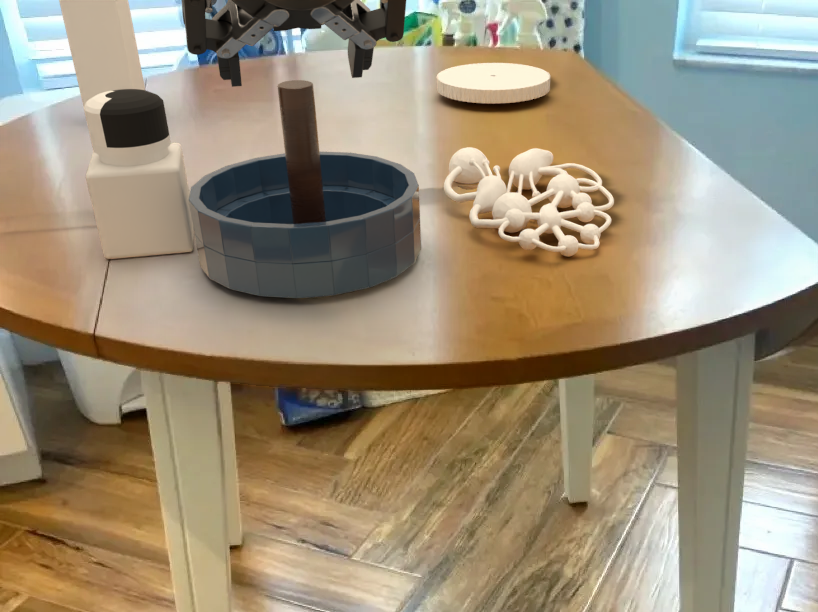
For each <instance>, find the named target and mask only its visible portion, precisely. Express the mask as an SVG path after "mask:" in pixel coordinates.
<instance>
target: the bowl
mask: <svg viewBox="0 0 818 612" xmlns="http://www.w3.org/2000/svg"><path fill="white" fill-rule="evenodd" d="M319 152H320V163H321V173H322V184H323V195H324V205H325V216H326V222H317V223H302V224H293V218H292V209H291V200H290V191H289V183H288V174H287V165H286V156H285V152H284V153H277V154H272V155H271V154H270V155H266V156H265V155H264V156H259V157H253V158H249V159H246V160H243V161H239V162H235V163H232V164H228V165H225V166H223V167H220V168H218V169H217V170H215V171H212V172H210V173H207V174H205V175H204V176H201V178H200V179H199V180H197V181H196V182H195V183H194V184H193V185H192V186H190V189H189V193H190V195H189V206H190V211H191V217H192V223H193V228H194V239H195V240H194V241H195V245H196V250H197V255H198V256H197V257H198V261H199V267H200V268H201V269H202V271H203V272H204V273H205V274H206V276H207V277H208V279H209V280H211V281H213V282H215V283H217V284H219V285H221V286H222V287H225V288H227V289H229V290H232V291H237V292H241V293H245V294H249V295H253V296H258V297H268V298H269V297H270V298H286V299H309V298H311V299H313V298H322V297H323V298H324V297H332V296H336V295H342V294H343V295H344V294H348V293H352V292H356V291H359V290H364V289H369V288H372V287H375V286H377V285H380V284H383V283H384V282H385V283H386V282H388V281H390V280H392V279H395V278H397V277H398V276H400V275H401V274H402V273H404V272H405V271H406V270H408V269H409V268H411V267H412V266H413V265H414V264H415V263H416V261H417V259H418V257H419V255H420V252H421V251H422V234H421V233H422V232H421V210H420V209H421V208H420V207H421V206H420V205H421V204H420V185H419V181H418V179H417V177H416V174H415V172H413V171H412V170H410V169H408V168H407V167H406V166H404V165H403V164H401V163H398V162H395V161H392V160H388V159H385V158H382V157H379V156H375V155H369V154H363V153H357V152H344V151H343V152H341V151H320V150H319Z"/></svg>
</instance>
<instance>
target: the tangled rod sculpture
mask: <svg viewBox="0 0 818 612" xmlns="http://www.w3.org/2000/svg"><path fill="white" fill-rule="evenodd" d="M553 163H554V154H553V153H552V152H551V151H550V150H547V149H542V148H537V147H534V148H530V149H528V150H526V151H524V152H521V153H519V154H517V155H516V156H515V157H513V159H512V160H511V161H510V163H509V166H508V176H509V179H508V182H507V185H506V183H505V182H504V180H503V179H502V176H501V174H500V172H501V167H500V165H498V164H496V165H494V166H493V168H492V170H493V172H494V173H495V175H494V174H493V172H492V170H491V168H490V160H489V159H488V158H487V156H486V155H485V154H484V153H483V151H481V150H480V149H479V148H475V147H473V146H468V147H461V148H460V149H458V150H456V152H454V154H452V156H451V158H450V160H449V163H448V175H447V176H446V177H445V179H444V181H443V191H444V193H445V195H446V196H447V197H448V198H449V199H450V200H452V201H454V202H456V203H460V204H461V203H465V202H471V201H473V204H472V207H471V209H470V210H469V216H468V217H469V221H470V223H471V226H472V227H473V228H477V229H498V232H497V233H498V235H499V238H500V239H502V240H503V241H505V242H510V243H518V244H519V246H520V247H521V249H523V250H526V251H531V250H535V249H536V248H540V249H543V250H545V251H547V252H552V253H560V254H561V255H562V256H564V257H569V258H570V257H572V256H575V255H576V254H577V253H578V251H579V249H580V250H585V251H592V250H593V251H594V250H597V249H598V248H599V247H600V243H601V242H600V238H601V236H602V235H601V233H603V232H604V231H605V230H607V229H608V228H609V227H610V225H611V224H612V218H611V215H609V214H608V213H606V212H605V211H608V210H610V209H611V208H613V206H614V204H615V198H614V197H613V195H612V193H611V192H610V191H609V190H607V188H605V187H604V186H603V180H602V178H601V176H600V175H599V174H598V173H597V172H596V171H594V170H593V169H591V168H589V167H588V166H585V165H583V164H578V163H574V162H572V163H571V162H569V163H568V162H567V163H563V164H556V165H552V164H553ZM567 169H574V170H579V171H581V172H584V173H586V174H588V175H590V176H591V177H592V178H593V179H594V180H592V179H589V178H585V177H578V178H575V177H574V176H572V175H571V174H569V173H568V172H567ZM543 176H554V177H552V178H551V179H550V181H549V182H548V184H547V187H546V191H544V192H542V193H541V192H540V191H539V190H538V189H537V187H536V186H537V184H538V183H539V181H541V178H542V177H543ZM453 182H455V183H458V184H465V185H457V187H459V188H460V189H463V190H467V191H469V190H470V191H471V190H476V191H471V192H466V193H461V194H460V193H457V192H456V191H455V190H454V189H453V187H452V185H453ZM580 184H582V185H580ZM583 184H584V185H588V186H583ZM512 185H513V186H514V187H515V188H517V192H512V191H511V190H512ZM523 190H527V191H528V190H531V191H532V194H531V198H530V199H528V198H527V197H526V196H524V195H522V193H523ZM596 191H599V192H601V193H602V194H603V196H605V197H606V198H607V200H608V203H606V204H603V205H597V206H596V205H594V204H593V203H592V202H593V201H592V198H591V196H590V195H589V194H588V193H594V192H596ZM547 199H548V201H549V203H546V204H544V205H542V206H541V207H540V210H539V212H533V210H532V206H535V205H537V204H538V203H540V202H542V201H544V200H547ZM571 206H572V208H573V209H572V210H566V211H561V212H559V210H558V208H560V209H567V208H570V207H571ZM488 213H491V215H492V219H489V218H488V219H487V218H481V219H479V214H481V215H482V214H488ZM595 216H598V217H601V218H602V219H604V220H605V222H604V224H602V225H601V226H600V227H599V226H598V225H596V224H594V223H589V222H591V221H593V219H595ZM573 218H577V220H578V221H580V222H582V223H586V224H585V225H580V224H578V223H575V222H572V221H570V220H568V219H573ZM531 220H535V221H536V223H537V228H535V229H533V228H526V227H527V226H528V224H529V223H530V221H531ZM562 227H563V228H565V229H568V230H571V231H574V232H577V233H579V237H580V240H581V241H582V242H583V243H581V242H579V241H578V239H577V238H576V237H575V236H574V235H570V234H567V235H565V234H564V232H563V230H562V229H561V228H562ZM505 232H506V233H508V234H509V233H510V234H514V233H517V232H519V235H518V236H510V235H507V234H505ZM544 233H545V234H553V236H555V238H556V239H557V241H558V243H557V246H553V245H549V244H546V243H544V242H542V241H541V240H540V236H541V235H542V234H544Z"/></svg>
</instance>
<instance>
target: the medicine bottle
mask: <svg viewBox="0 0 818 612" xmlns="http://www.w3.org/2000/svg"><path fill="white" fill-rule="evenodd" d="M83 111H84V116H85V120H86V125H87V131H88V134H89V138H90V143H91V148H92V155H91V158H90V160H89V164H88V166H87V169H86V172H85V181H86V186H87V189H88V194H89V198H90V203H91V207H92V211H93V216H94V219H95V220H94V221H95V224H96V228H97V232H98V237H99V240H100V245H101V249H102V253H103V257H104V258H105V259H106V260H115V259H127V258H139V257H148V256H160V255H170V254H182V253H191V252H193V250H194V241H195V240H194V239H195V233H194V228H193V223H192V217H191V211H190V206H189V195H190V187H189V182H188V181H189V180H188V176H187V170H186V165H185V159H184V153H183V148H182V144H180V143H179V142H172V141H171V136H170V130H169V124H168V118H167V113H166V107H165V102H164V99H163V98H162V97H161V96H160V95H158V94H157V93H154V92H151V91H149V90H146V89H145V90H140V89H121V90H113V91H107V92H103V93H100V94H98V95H96V96H94V97H92V98H91V99H89V100H88V101H87V102H86V104H85V106H84V107H83Z"/></svg>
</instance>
